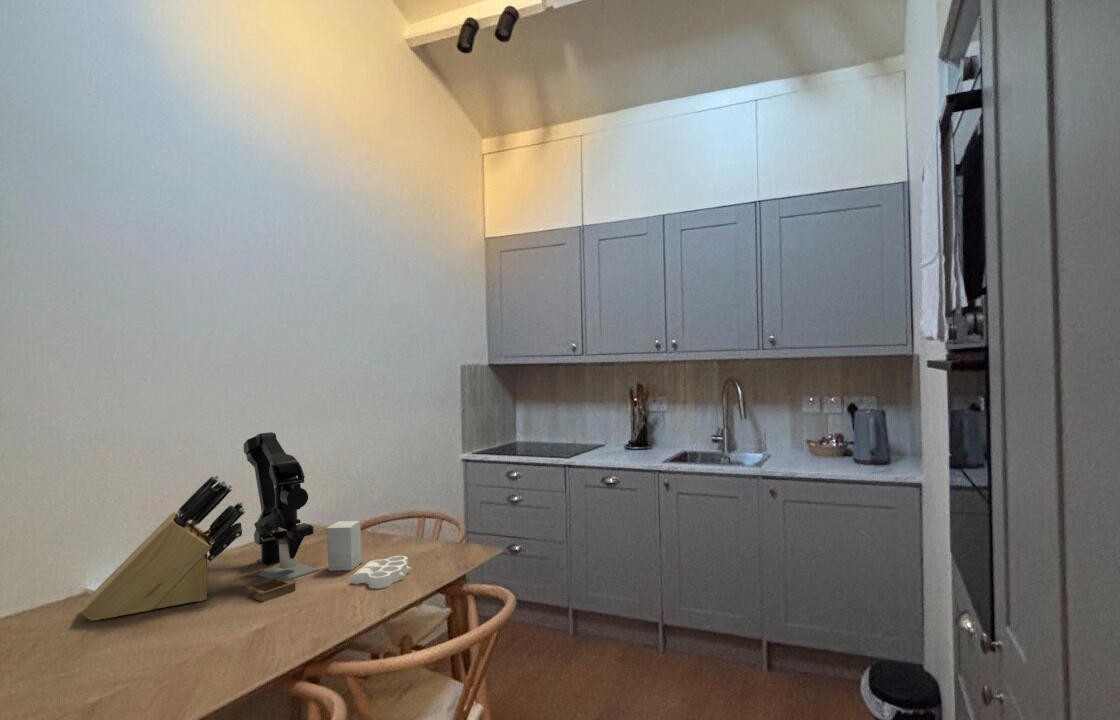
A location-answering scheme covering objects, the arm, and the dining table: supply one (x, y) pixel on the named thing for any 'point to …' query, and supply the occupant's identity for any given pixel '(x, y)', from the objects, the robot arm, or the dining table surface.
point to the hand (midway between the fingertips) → (287, 557)
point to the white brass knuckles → (382, 572)
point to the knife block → (170, 559)
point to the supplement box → (344, 545)
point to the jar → (285, 555)
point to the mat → (288, 572)
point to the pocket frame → (279, 583)
